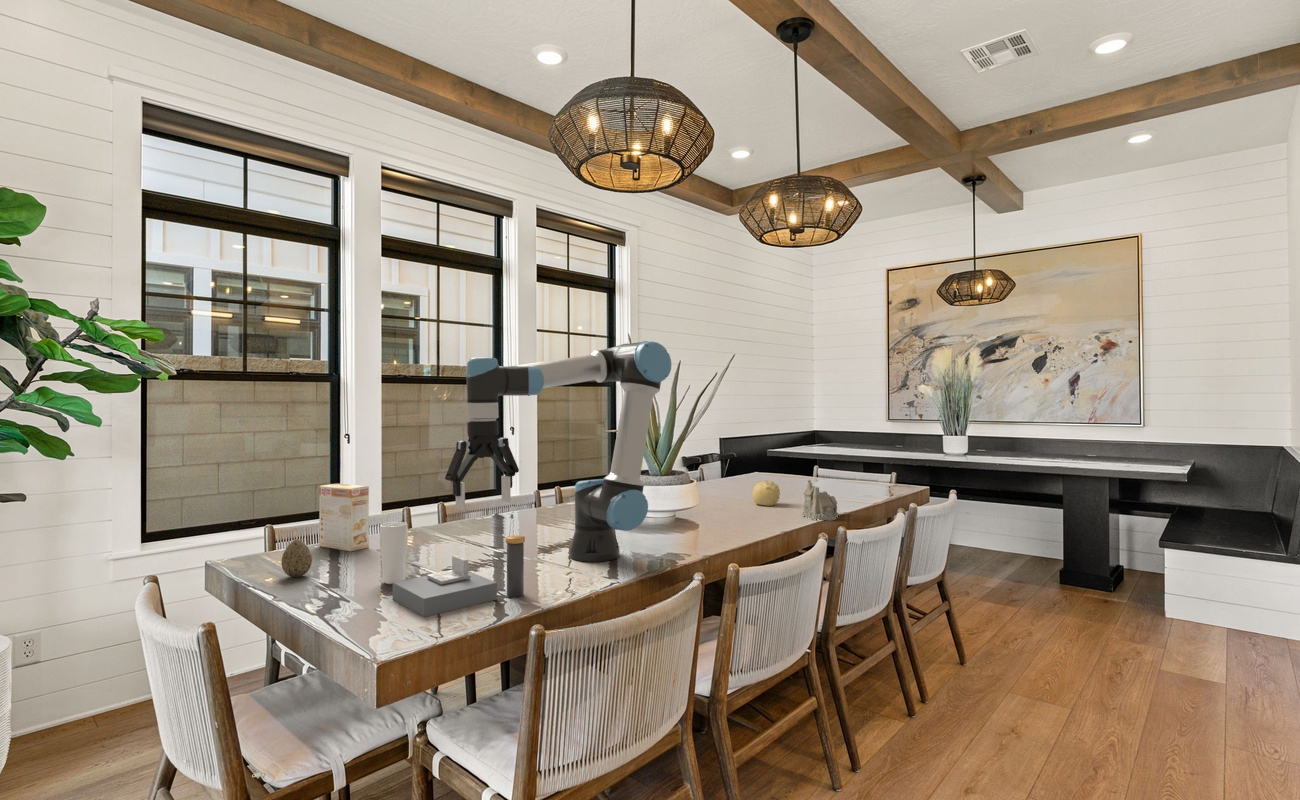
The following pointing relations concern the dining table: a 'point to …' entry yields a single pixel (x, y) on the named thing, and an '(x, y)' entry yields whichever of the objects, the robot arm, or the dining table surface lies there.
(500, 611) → the dining table surface
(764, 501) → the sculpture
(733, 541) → the dining table surface
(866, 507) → the dining table surface
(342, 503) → the coffeecake box
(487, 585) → the socket block
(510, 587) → the plug
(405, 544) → the drinking glass
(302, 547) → the decorative egg
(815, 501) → the ceramic cottage
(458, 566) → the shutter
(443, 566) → the dining table surface
